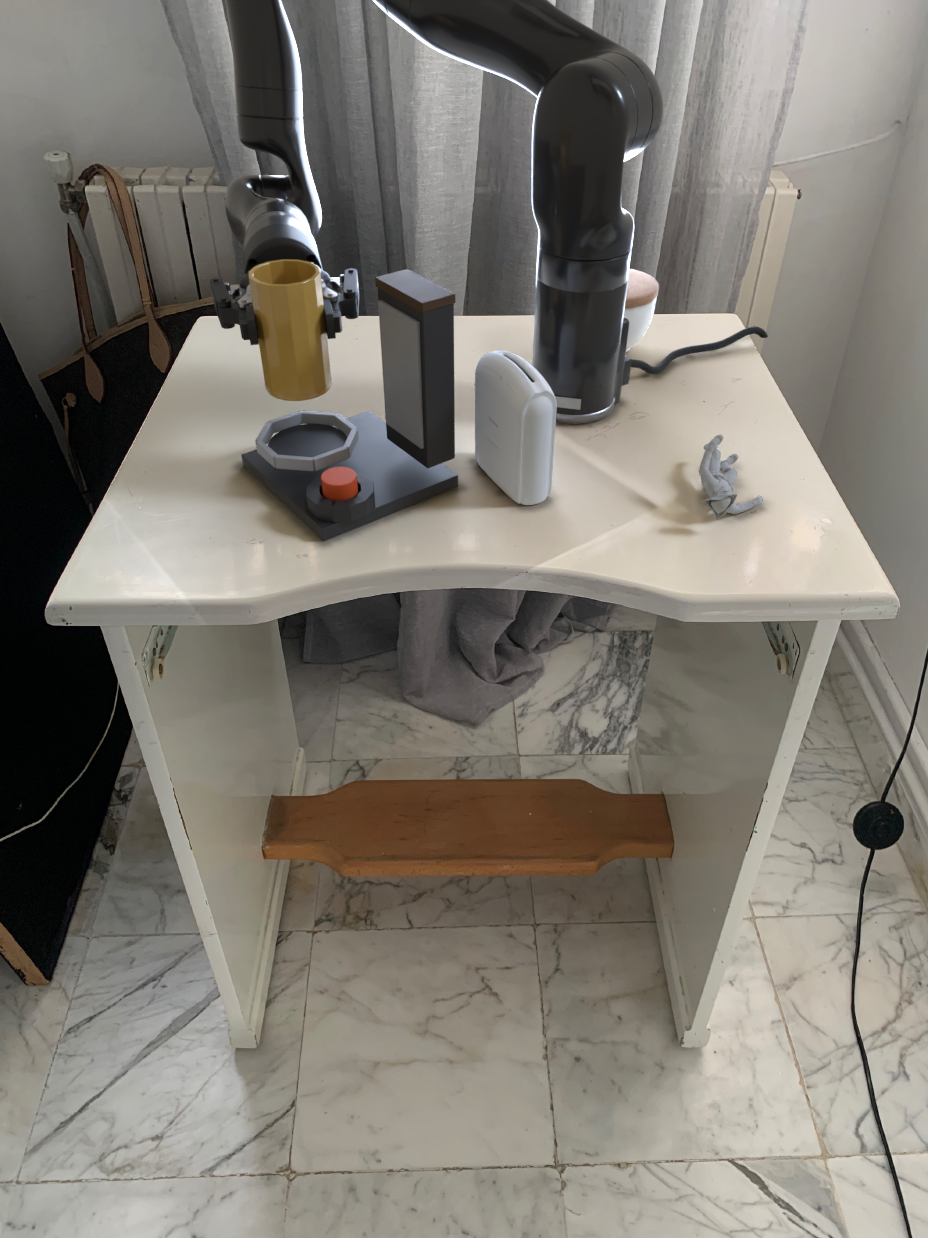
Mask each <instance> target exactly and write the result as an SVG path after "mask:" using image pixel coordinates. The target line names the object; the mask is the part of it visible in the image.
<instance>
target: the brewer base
mask: <svg viewBox="0 0 928 1238" xmlns="http://www.w3.org/2000/svg"><path fill="white" fill-rule="evenodd" d="M345 419H346V420H348V421H349V422H350V423H352V424H353V425H354V426H356V427H357V429H358V442H357V444H356V446H355V448H354V450H353V452H352V455H351V457H350V458H348V460H345V461H342V462H339V463H337V464H334V465H331V466H328V467H326V468H323V469H320V470H317V471H315V470H314V471H302V470H289V469H277V468H274V467H273V466H272V465H271V464H270V463H269V462H268V461H266V460H265V459H264V458H263V457H262V456H261V455H260V454H259V453H258V452H257V448H256V449H253V450H250V451H246V452H244V453H242V454H241V455H240V456H241V462H242V466H243V468H245V469H246V470H247V471H248V472H249V473H250V474H251V475H252V476H253V477H254V478H255V479H256V480H257V481H258V482H259V483H261V484H262V486H263V487H265V488H266V489H267V490H268V491H269V492H270V493H271V494H272V495H273V496H274V497H275V498H276V499H278V501H279V502H281V503H282V504H283V505H284V506H285V507H286V508H287V509H288V510H289V511H290V512H291V513H292V514H293V515H295V516H296V517H297V519H299V520H300V521H301V522H302V523H303V524H304V525H305V526H306V527H307V528H308V529H309V530H310V531H311V532H313V533H314V535H316V536H317V537H318V538H319V539H320V540H321V541H322V542H326V541H329V540H332V539H334V538H337V537H339V536H342V535H343V534H346V533H349V532H352V531H353V530H356V529H358V528H361V527H363V526H366V525H368V524H371V523H374V522H375V521H378V520H381V519H383V518H386V517H388V516H390V515H392V514H393V515H394V514H396V513H398V512H400V511H402V510H403V511H404V510H406V509H408V508H411V507H412V506H416V505H417V504H420V503H422V502H426V501H428V500H429V499H432V498H434V497H437V496H440V495H442V494H444V493H448V492H450V491H452V490H454V489H456V488H459V474H458V473H456V472H454V471H453V470H452V469H450V468H449V467H448V466H446V465H445V464H444V463H441V464H438V465H436V466H433V467H431V468H426V467H425V466H424V465H422V464H421V463H419V462H418V461H417V460H415V459H414V458H413V457H411V456H410V455H409V454H407V453H406V452H405V451H403V450H402V449H401V448H399V447H398V446H396V445H395V444H394V443H392V442H391V441H390V440H388V439H387V430H386V421H384V420H382V419H381V417H378V416H377V415H376V414H374V413H373V412H371V411H370V410H367V411H365V412H362V413H359V414H356V415H353V416H350V417H346V418H345ZM332 427H335V428H337V427H336V426H332ZM337 429H338V428H337ZM339 430H340V429H339ZM346 436H347V435H346ZM347 438H348V436H347ZM334 467H347V468H350V469H352V470H354V471H355V472H356V475H357V485H358V493H357V495H356V496H355V497H352V498H350V499H347V500H340V501H334V500H330V499H326V498H325V497H324V496H323V492H322V483H321V475H322V473H323V472H324V471H326V470H328V469H330V468H334Z"/></svg>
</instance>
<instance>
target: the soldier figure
mask: <svg viewBox="0 0 928 1238" xmlns="http://www.w3.org/2000/svg"><path fill="white" fill-rule="evenodd" d="M723 440H724V436H723V435H722V434H718V435H716V436H714V437H713V438H712V439H711V440H710V441H709V442H708V443H705V444H704V446H703V450H704V453H703V455H702V458H701V460H700V465H699V468H698V475H699V476H700V482H701V487H703V490H704V491H705V495H706V496H708V498H705V499H702V503H703V504H705V505H706V506H707V507H708V508H710V510H711V511H712V512H713V514H714V516H715V520H716V521H718V520H719V519H721V518H723V517H724V516H725V515H726V513H727V514H732V515H737V514H740V513H744V512H746V511H748V510H751V509H753V508H754V507H757V506H759V505H760V504H761V503H763V502H764V497H763V496H762V495H760V494H758V496H756V497H755V498H753V499H752V500H750V501H749V500H747V501H745V502H742V503H736V502H735V501H736V499H737V498H738V494H737V493H734V487H733V484H734V483H735V481H736V480H737V479H738V477H739V475H738V470H737V469H735V467H732V466H731V465H733V464H735V463H737V461H738V459H739V455H738V454H737V453H733V454H730V455H728V457H727V458H725V459H723V460H721V457H722V453H721V450H720V449H718V448H719V445H720V444H721V443H722V442H723ZM721 472H722V473H721Z"/></svg>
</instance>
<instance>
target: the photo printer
mask: <svg viewBox="0 0 928 1238" xmlns="http://www.w3.org/2000/svg"><path fill="white" fill-rule="evenodd" d="M556 411H557V402H556V398H555V396H554V393H553V391H552V389H551V388H550V386H549V384H548V383H547V382H546V380H545V379H544V378H543V376H542V375H541V374H540V373H539V372H538V371H537V370H536V369H535V368H534V367H533V366H532V363H529V361H527V360H526V359H525V358H523V357H521V356H520V355H518V354H516V353H514V352H511V351H508V350H504V349H496V350H494V351H489V352H485V353H484V354H483V355H482V356H481V357H480V359H479V360H478V362H477V364H476V368H475V372H474V454H475V460H476V463H477V464H478V466H479V467H480V468H481V470H483V472H484V473H485V474H486V475H487V476H488V477H489V478H490V479H491V480H492V481H493V482H494V483H495V484H496V486H498V487H499V488H500V490H502V491H503V492H504V494H506V495H507V496H508V497H509V498H510V499H511V500H512V501H514V502H515V503H516V504H520V505H522V506H533V505H537V504H541V503H542V502H544V501H545V500H546V499H548V496H550V495H551V493H552V488H553V487H552V486H553V469H554V456H555V455H554V454H555V439H556V425H557V422H556Z"/></svg>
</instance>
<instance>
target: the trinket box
mask: <svg viewBox="0 0 928 1238" xmlns="http://www.w3.org/2000/svg"><path fill="white" fill-rule="evenodd" d="M659 289H660V285H659V282H658V280H657V279H656V278H655V277H653V276H652V275H650V274H648V273H646V272H643V271H640V270H637V269H634V268H629V275H628V284H627V292H626V301H625V309H624V317H626V318H628V320H629V331H628V339H627V347H626V353H627V352H629V351H631V349H632V347H633V346H634V345H636V344H637V343H639V341H640V340H642V339H643V337H644V336H645V335H646V333H647V331H648V329H649V327H650V325H651V323H652V320H653V317H654V314H655V309H656V303H657V297H658V295H659V291H660V290H659Z"/></svg>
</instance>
